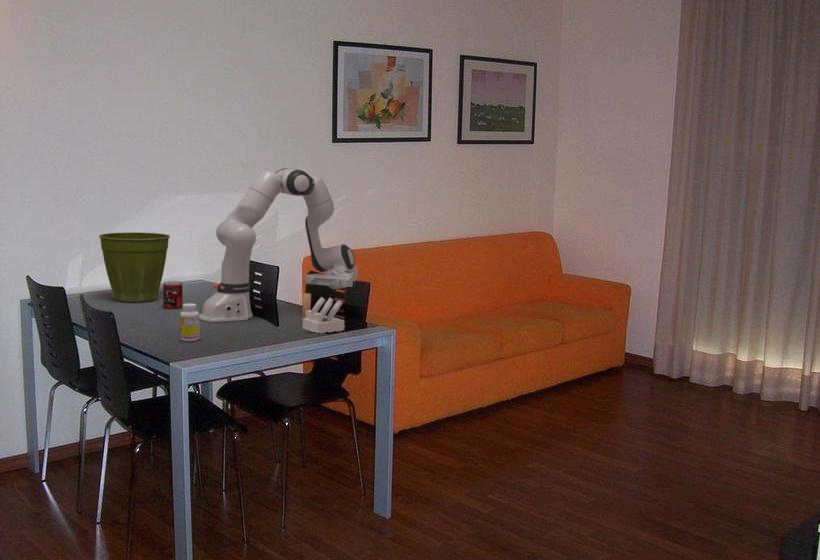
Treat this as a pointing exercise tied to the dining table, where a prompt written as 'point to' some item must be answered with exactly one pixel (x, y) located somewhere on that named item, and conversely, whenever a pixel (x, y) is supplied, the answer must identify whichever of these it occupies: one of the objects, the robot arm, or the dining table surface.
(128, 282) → the plant pot
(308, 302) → the peg
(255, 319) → the dining table surface
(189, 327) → the supplement bottle
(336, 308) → the white tube holder
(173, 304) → the canned food
